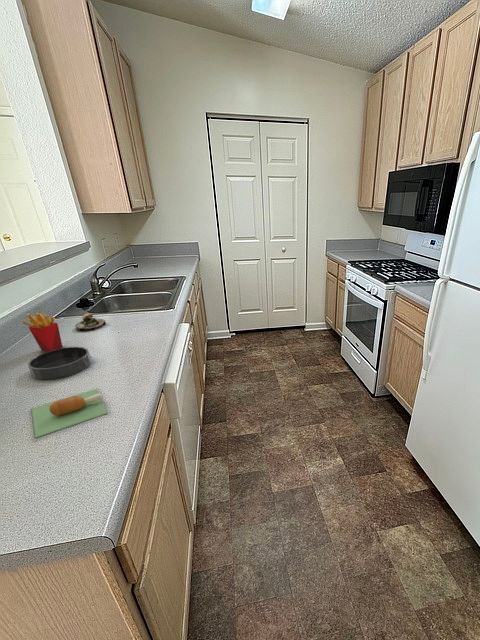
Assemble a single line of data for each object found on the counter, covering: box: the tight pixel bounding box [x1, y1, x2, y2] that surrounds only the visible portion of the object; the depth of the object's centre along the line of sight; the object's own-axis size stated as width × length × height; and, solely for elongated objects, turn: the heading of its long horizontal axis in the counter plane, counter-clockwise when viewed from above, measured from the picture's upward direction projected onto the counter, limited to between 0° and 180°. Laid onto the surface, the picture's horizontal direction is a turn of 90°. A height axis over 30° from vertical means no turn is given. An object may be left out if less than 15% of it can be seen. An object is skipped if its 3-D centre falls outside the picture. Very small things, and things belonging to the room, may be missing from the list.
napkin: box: [31, 388, 108, 439], centre depth 91 cm, size 16×16×1 cm
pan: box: [27, 346, 93, 381], centre depth 113 cm, size 17×17×4 cm
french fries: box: [20, 312, 63, 352], centre depth 124 cm, size 9×8×15 cm
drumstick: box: [49, 393, 103, 416], centre depth 91 cm, size 12×4×4 cm
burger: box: [75, 313, 107, 332], centre depth 148 cm, size 12×12×8 cm
